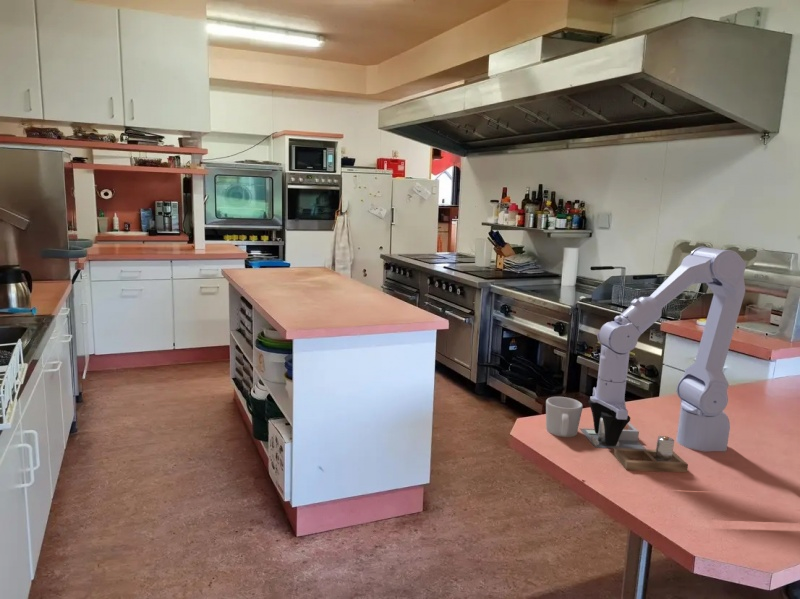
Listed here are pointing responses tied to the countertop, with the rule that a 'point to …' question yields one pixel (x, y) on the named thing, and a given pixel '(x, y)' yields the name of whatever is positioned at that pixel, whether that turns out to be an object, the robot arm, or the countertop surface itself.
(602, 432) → the cylinder
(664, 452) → the cell
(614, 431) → the robot arm
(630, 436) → the grey board with box
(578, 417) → the cup
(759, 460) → the countertop surface
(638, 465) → the wooden divided tray
